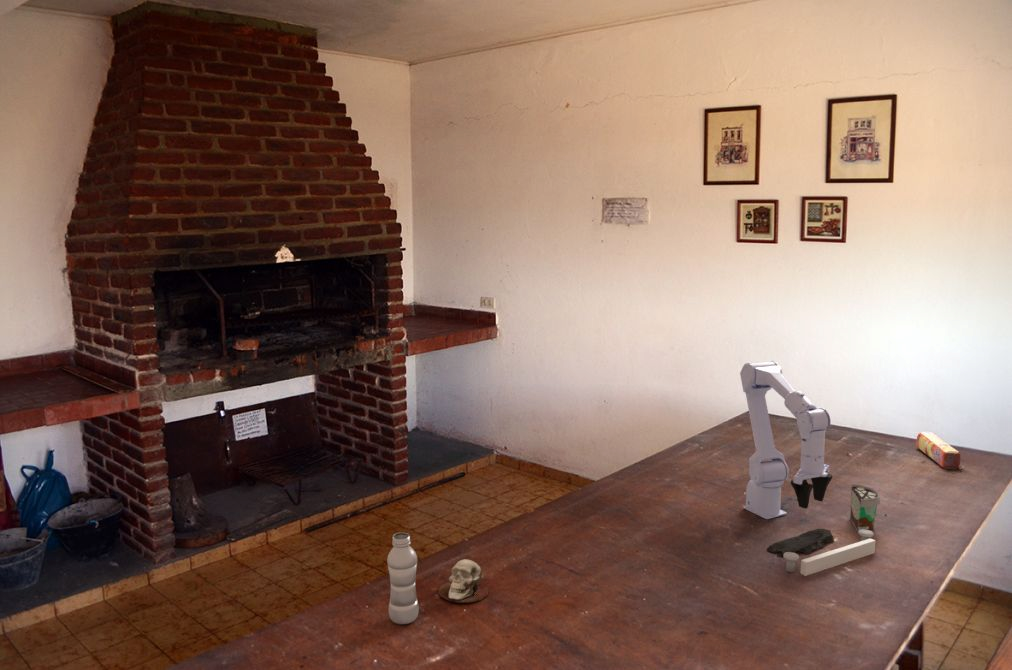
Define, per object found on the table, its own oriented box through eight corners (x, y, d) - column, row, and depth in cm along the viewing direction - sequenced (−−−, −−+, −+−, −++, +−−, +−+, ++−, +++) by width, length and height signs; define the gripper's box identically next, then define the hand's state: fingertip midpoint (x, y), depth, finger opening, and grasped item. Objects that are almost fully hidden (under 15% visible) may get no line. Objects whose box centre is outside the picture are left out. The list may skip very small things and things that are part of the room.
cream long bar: (779, 569, 195) (780, 554, 195) (863, 542, 209) (864, 528, 208) (797, 578, 191) (797, 563, 190) (881, 550, 204) (883, 536, 204)
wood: (786, 563, 199) (787, 552, 199) (764, 551, 206) (764, 540, 205) (845, 544, 209) (846, 533, 209) (823, 533, 216) (823, 523, 215)
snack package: (961, 470, 261) (963, 450, 260) (940, 469, 262) (942, 450, 260) (933, 449, 282) (935, 430, 280) (914, 448, 282) (916, 430, 281)
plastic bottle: (389, 613, 178) (386, 530, 174) (419, 611, 178) (416, 529, 174) (388, 629, 171) (384, 543, 167) (419, 627, 172) (416, 541, 168)
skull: (475, 607, 178) (448, 569, 180) (448, 626, 183) (423, 589, 185) (502, 582, 188) (476, 547, 190) (476, 601, 193) (451, 566, 195)
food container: (883, 536, 213) (886, 501, 211) (858, 534, 214) (861, 500, 212) (871, 517, 224) (874, 484, 223) (848, 516, 226) (851, 483, 224)
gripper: (812, 463, 200) (810, 514, 202) (841, 451, 209) (839, 501, 211) (786, 457, 205) (785, 507, 207) (816, 446, 214) (814, 494, 216)
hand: (810, 503), depth 209 cm, fingers open, 7 cm apart
